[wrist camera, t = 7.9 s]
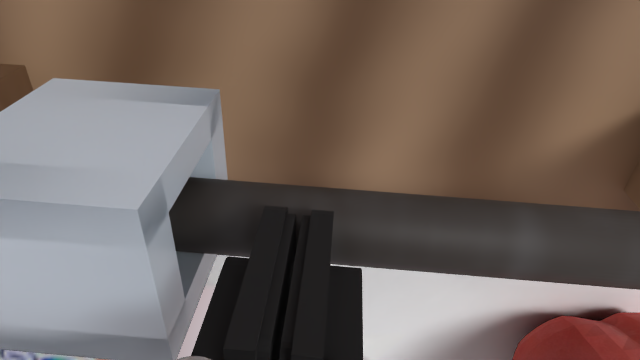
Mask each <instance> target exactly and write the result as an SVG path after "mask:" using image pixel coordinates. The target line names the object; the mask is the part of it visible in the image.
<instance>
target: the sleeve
mask: <svg viewBox="0 0 640 360" xmlns="http://www.w3.org/2000/svg"><path fill="white" fill-rule="evenodd" d="M189 177H196V178H209V179H222V180H228V177H227V166H226V155H225V144H224V133H223V121H222V110H221V99H220V89H207V88H193V87H178V86H163V85H148V84H134V83H119V82H104V81H89V80H75V79H60V78H53V79H51V80H50V81H48V82H46V83H45V84H43V85H42V86H40V87H39V88H37V89H35V90H34V91H32V92H31V93H29V94H28V95H26V96H24V97H23V98H21V99H20V100H18V101H17V102H15V103H13V104H12V105H10V106H9V107H7V108H6V109H4V110H2V111H1V112H0V349H3V350H13V351H24V352H35V353H45V354H56V355H67V356H78V357H88V358H99V359H110V360H176V359H177V357H178V354H179V352H180V349H181V346H182V344H183V341H184V339H185V336H186V333H187V331H188V328H189V326H190V323H191V321H192V318H193V315H194V313H195V310H196V308H197V305H198V302H199V300H200V297H201V295H202V292H203V289H204V287H205V284H206V282H207V279H208V277H209V274H210V271H211V269H212V266H213V264H214V261H215V258H216V256H217V254H204V253H192V252H180V251H176V249H175V244H174V239H173V233H172V228H171V223H170V217H169V211H170V209H171V208H172V206H173V204H174V203H175V201H176V199H177V197H178V196H179V194H180V192H181V191H182V189H183V187H184V185H185V184H186V182H187V180H188V178H189Z"/></svg>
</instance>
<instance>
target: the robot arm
mask: <svg viewBox="0 0 640 360" xmlns="http://www.w3.org/2000/svg"><path fill="white" fill-rule="evenodd" d="M333 218H334V211H326V210H314V209H312V212H311V215H302V220H301V226H300V232H299V238H298V244H297V250H296V256H295V237H296V214H291V213H288V207H279V206H267V205H265V207H264V210H263V213H262V217H261V220H260V223H259V227H258V230H257V234H256V237H255V241H254V244H253V247H252V251H251V254H250V258H238V257H227V258H226V260H225V262H224V265H223V267H222V270H221V273H220V276H219V279H218V282H217V284H216V287H215V290H214V293H213V296H212V298H211V301H210V304H209V307H208V310H207V312H206V315H205V318H204V321H203V324H202V327H201V329H200V332H199V335H198V338H197V341H196V344H195V346H194V349H193V352H192V355H191V356H189V357H183V358H179V359H177V360H363V321H362V270H361V268H351V267H340V266H330V260H331V246H332V232H333Z"/></svg>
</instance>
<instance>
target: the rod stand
mask: <svg viewBox="0 0 640 360" xmlns="http://www.w3.org/2000/svg"><path fill="white" fill-rule="evenodd" d="M53 78H60V79H75V80H89V81H104V82H119V83H134V84H148V85H163V86H178V87H193V88H207V89H220V99H221V110H222V121H223V133H224V144H225V155H226V166H227V177H228V180H222V179H209V178H196V177H189V178H188V180H187V182H186V184H185V185H184V187H183V189H182V191H181V192H180V194H179V196H178V197H177V199H176V201H175V203H174V204H173V206H172V208H171V209H170V211H169V217H170V223H171V228H172V233H173V239H174V244H175V249H176V251H180V252H192V253H204V254H217V255H229V256H241V257H250V254H251V251H252V247H253V244H254V241H255V237H256V234H257V230H258V227H259V223H260V220H261V217H262V213H263V210H264V207H265V205H267V206H279V207H288V213H291V214H296V237H295V256H296V250H297V244H298V238H299V232H300V226H301V220H302V215H311V212H312V209H314V210H326V211H334V218H333V232H332V246H331V260H330V264H337V265H349V266H361V267H373V268H386V269H398V270H410V271H422V272H434V273H446V274H458V275H470V276H482V277H494V278H506V279H518V280H530V281H542V282H555V283H567V284H579V285H591V286H603V287H615V288H627V289H639V290H640V0H0V112H1V111H2V110H4V109H6V108H7V107H9V106H10V105H12V104H13V103H15V102H17V101H18V100H20V99H21V98H23V97H24V96H26V95H28V94H29V93H31V92H32V91H34V90H35V89H37V88H39V87H40V86H42V85H43V84H45V83H46V82H48V81H50V80H51V79H53Z"/></svg>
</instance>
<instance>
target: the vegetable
mask: <svg viewBox="0 0 640 360" xmlns="http://www.w3.org/2000/svg"><path fill="white" fill-rule="evenodd" d="M512 360H640V313H616V314H613V315H611V316H609V317H607V318H605V319H603V320H601V321H595V320H589V319H583V318H578V317H574V316H560V317H557V318H554V319H552V320H549V321H547V322H545V323H543V324H541V325H540V326H538V327H536V328H535V329H534V330H532V331H531V332H530V333H528V334H527V335H526V336H525V337H524V338H523V339H522V340H521V341H520V342H519V343H518V346H517V348H516V350H515V353H514V356H513V359H512Z"/></svg>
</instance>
